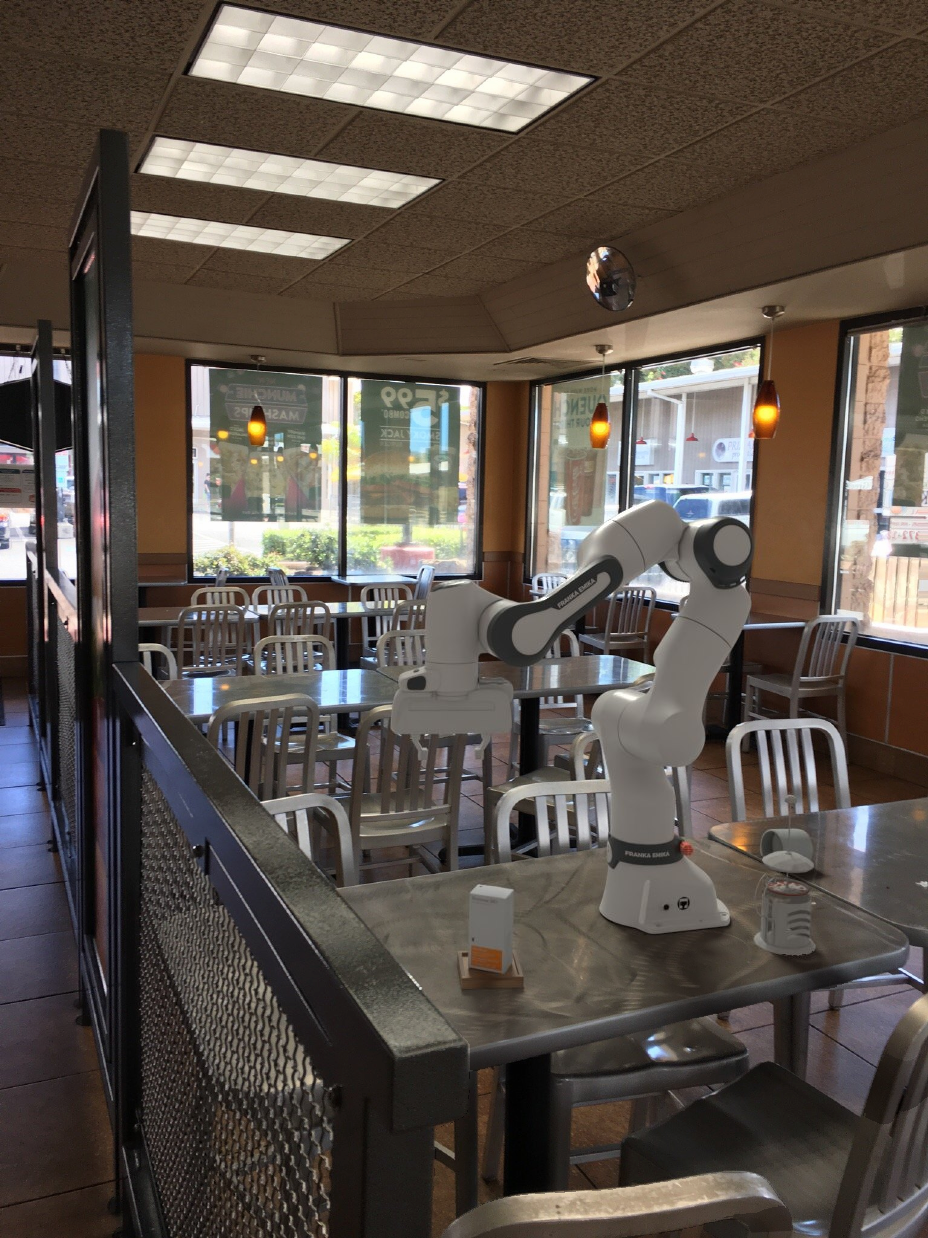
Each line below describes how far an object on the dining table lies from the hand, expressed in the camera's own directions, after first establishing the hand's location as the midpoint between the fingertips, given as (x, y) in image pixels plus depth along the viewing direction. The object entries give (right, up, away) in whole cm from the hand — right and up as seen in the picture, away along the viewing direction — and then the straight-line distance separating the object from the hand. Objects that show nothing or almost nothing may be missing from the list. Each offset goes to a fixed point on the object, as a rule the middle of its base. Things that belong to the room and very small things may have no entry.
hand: (450, 759), depth 167 cm
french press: (+54, -30, -3) cm, 62 cm away
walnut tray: (+6, -31, -14) cm, 35 cm away
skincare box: (+6, -30, -14) cm, 34 cm away
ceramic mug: (+67, -26, +36) cm, 80 cm away
